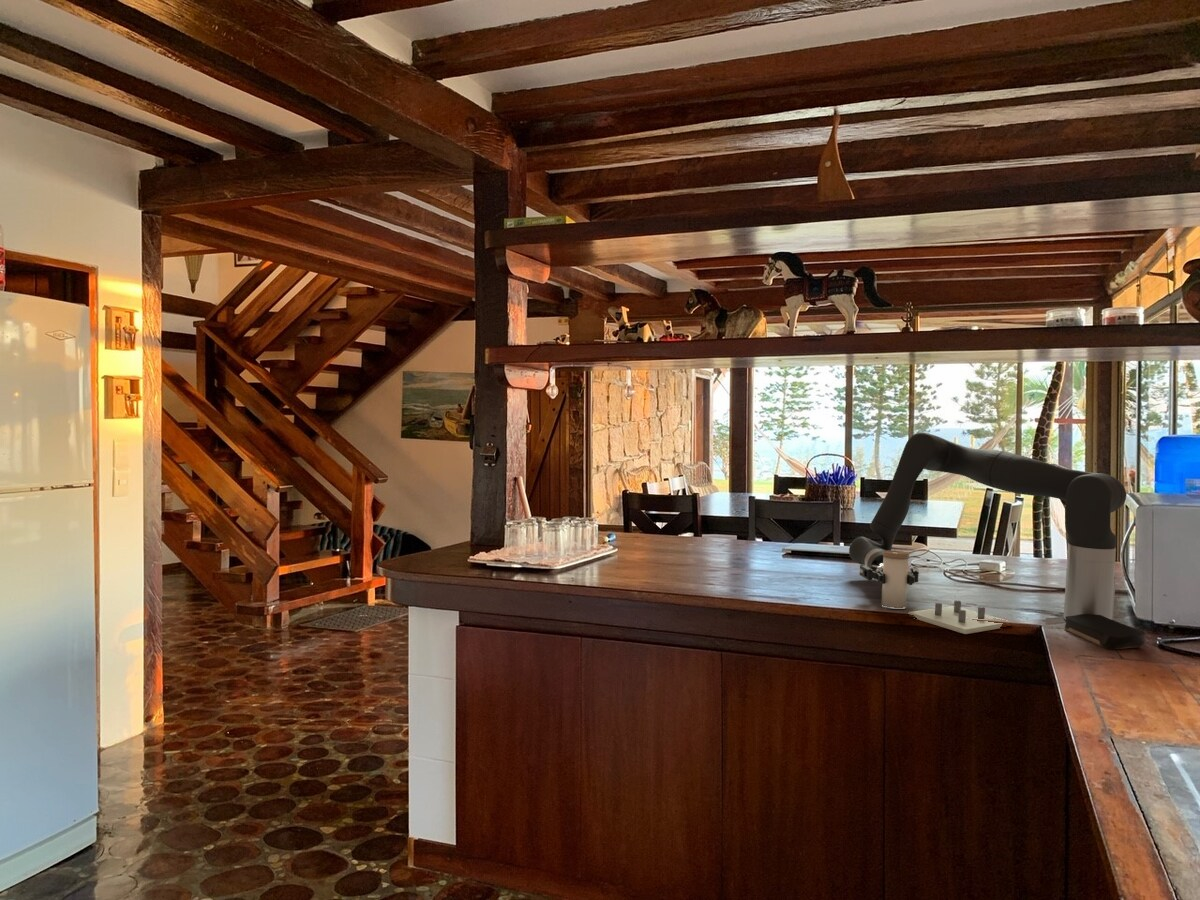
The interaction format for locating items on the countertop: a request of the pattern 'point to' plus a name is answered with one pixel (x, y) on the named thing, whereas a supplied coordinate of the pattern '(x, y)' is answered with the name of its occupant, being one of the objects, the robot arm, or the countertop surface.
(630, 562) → the countertop surface
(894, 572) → the canister
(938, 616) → the plate
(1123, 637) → the black sponge
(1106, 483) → the robot arm
